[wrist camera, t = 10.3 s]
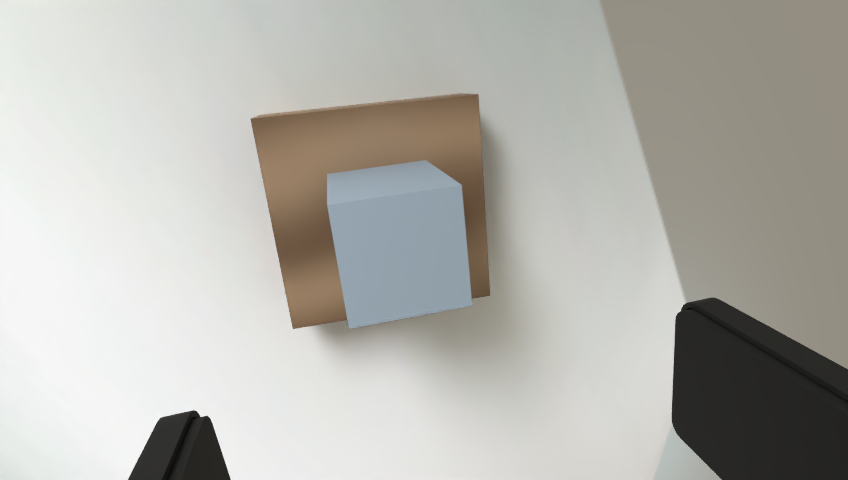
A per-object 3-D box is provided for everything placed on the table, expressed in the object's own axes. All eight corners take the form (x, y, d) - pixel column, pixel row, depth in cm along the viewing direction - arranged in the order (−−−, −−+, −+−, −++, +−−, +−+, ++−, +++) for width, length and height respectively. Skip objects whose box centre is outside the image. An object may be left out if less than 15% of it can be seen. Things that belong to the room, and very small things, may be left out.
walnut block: (261, 114, 27) (250, 118, 23) (458, 93, 28) (478, 94, 24) (297, 298, 30) (292, 328, 26) (470, 270, 32) (490, 295, 28)
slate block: (327, 173, 24) (327, 204, 18) (426, 160, 25) (461, 184, 18) (343, 268, 26) (348, 328, 19) (436, 252, 26) (472, 305, 20)
